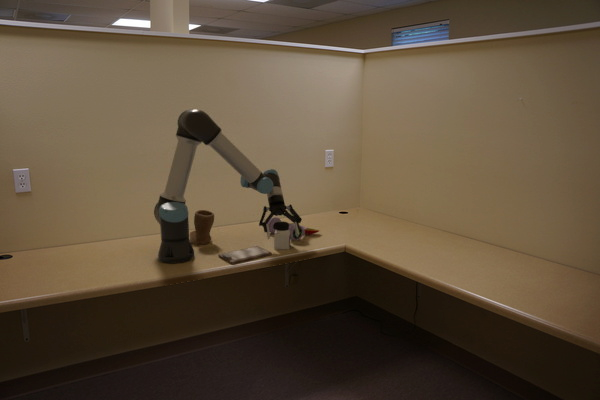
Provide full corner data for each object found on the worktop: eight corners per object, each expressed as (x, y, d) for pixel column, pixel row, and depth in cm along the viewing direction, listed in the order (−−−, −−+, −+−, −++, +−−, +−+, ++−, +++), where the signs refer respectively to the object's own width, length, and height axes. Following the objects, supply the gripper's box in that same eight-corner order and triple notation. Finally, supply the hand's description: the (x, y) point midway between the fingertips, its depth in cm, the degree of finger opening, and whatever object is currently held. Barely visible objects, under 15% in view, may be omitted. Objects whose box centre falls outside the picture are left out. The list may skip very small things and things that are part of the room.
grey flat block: (232, 264, 186) (231, 259, 186) (218, 256, 195) (218, 252, 195) (271, 254, 198) (271, 250, 198) (257, 247, 207) (257, 243, 207)
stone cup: (216, 244, 213) (215, 213, 210) (190, 246, 210) (188, 215, 207) (213, 235, 227) (212, 206, 224) (189, 237, 224) (188, 207, 221)
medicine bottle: (289, 249, 205) (289, 224, 203) (274, 249, 205) (273, 224, 203) (290, 244, 212) (290, 220, 210) (275, 244, 212) (275, 220, 210)
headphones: (265, 219, 229) (294, 208, 241) (267, 237, 231) (296, 225, 244) (290, 227, 214) (320, 215, 226) (292, 246, 217) (321, 233, 229)
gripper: (298, 200, 223) (307, 238, 212) (249, 204, 216) (255, 242, 205) (301, 192, 217) (311, 230, 206) (250, 195, 210) (257, 234, 199)
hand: (283, 236), depth 205 cm, fingers open, 13 cm apart
